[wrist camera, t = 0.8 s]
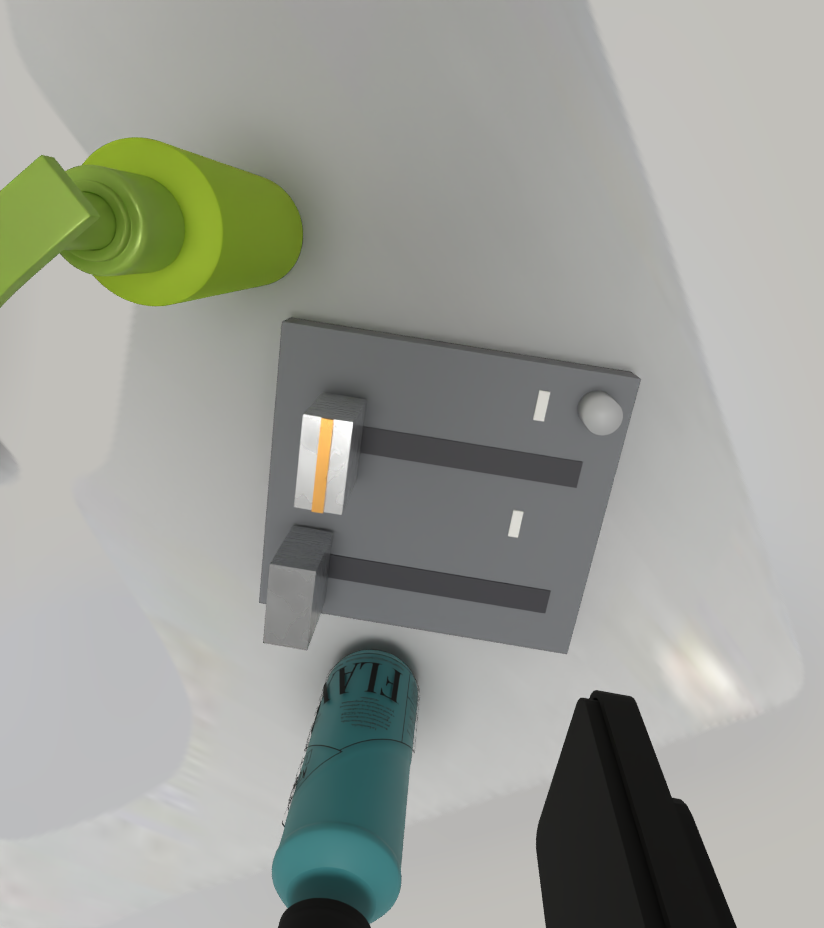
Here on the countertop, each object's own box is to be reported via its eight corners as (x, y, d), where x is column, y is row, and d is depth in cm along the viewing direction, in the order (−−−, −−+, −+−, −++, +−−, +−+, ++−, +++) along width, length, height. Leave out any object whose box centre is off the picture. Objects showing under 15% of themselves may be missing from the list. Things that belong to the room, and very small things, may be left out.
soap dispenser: (165, 231, 37) (-146, 216, 18) (257, 151, 35) (21, 41, 16) (232, 317, 38) (9, 389, 19) (324, 244, 36) (178, 243, 17)
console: (290, 317, 38) (272, 325, 34) (631, 372, 37) (651, 386, 34) (267, 587, 44) (249, 619, 40) (562, 636, 43) (572, 673, 40)
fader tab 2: (292, 525, 39) (269, 563, 35) (333, 532, 39) (316, 571, 35) (285, 597, 41) (263, 642, 36) (324, 603, 41) (307, 650, 36)
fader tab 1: (322, 392, 37) (301, 415, 32) (366, 399, 37) (352, 423, 32) (314, 474, 38) (292, 508, 33) (356, 481, 38) (341, 516, 33)
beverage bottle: (420, 633, 44) (392, 927, 25) (423, 714, 46) (398, 1041, 27) (325, 632, 44) (227, 919, 26) (332, 712, 47) (246, 1032, 28)
